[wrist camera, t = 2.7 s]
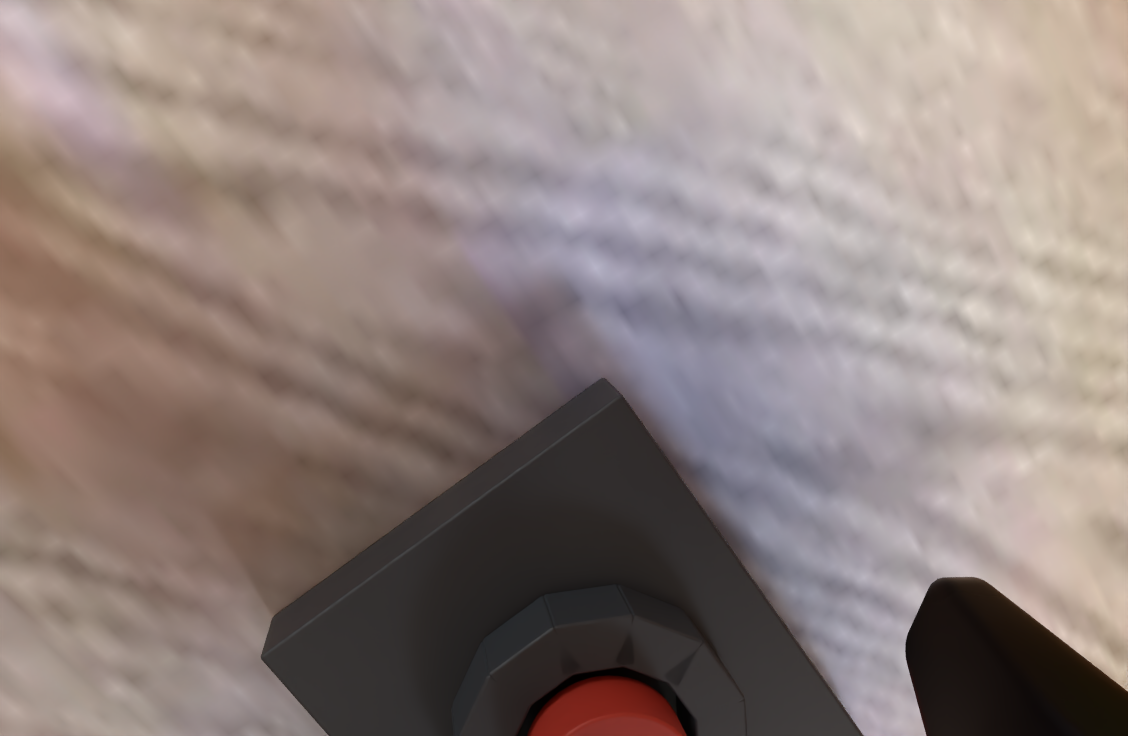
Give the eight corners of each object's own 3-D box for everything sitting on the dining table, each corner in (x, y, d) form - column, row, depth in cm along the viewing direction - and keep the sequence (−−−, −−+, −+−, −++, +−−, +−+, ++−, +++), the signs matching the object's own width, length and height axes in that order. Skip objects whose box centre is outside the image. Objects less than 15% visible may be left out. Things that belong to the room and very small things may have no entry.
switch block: (849, 722, 28) (921, 810, 24) (552, 942, 28) (576, 1066, 24) (603, 375, 25) (639, 411, 21) (271, 617, 25) (246, 697, 21)
